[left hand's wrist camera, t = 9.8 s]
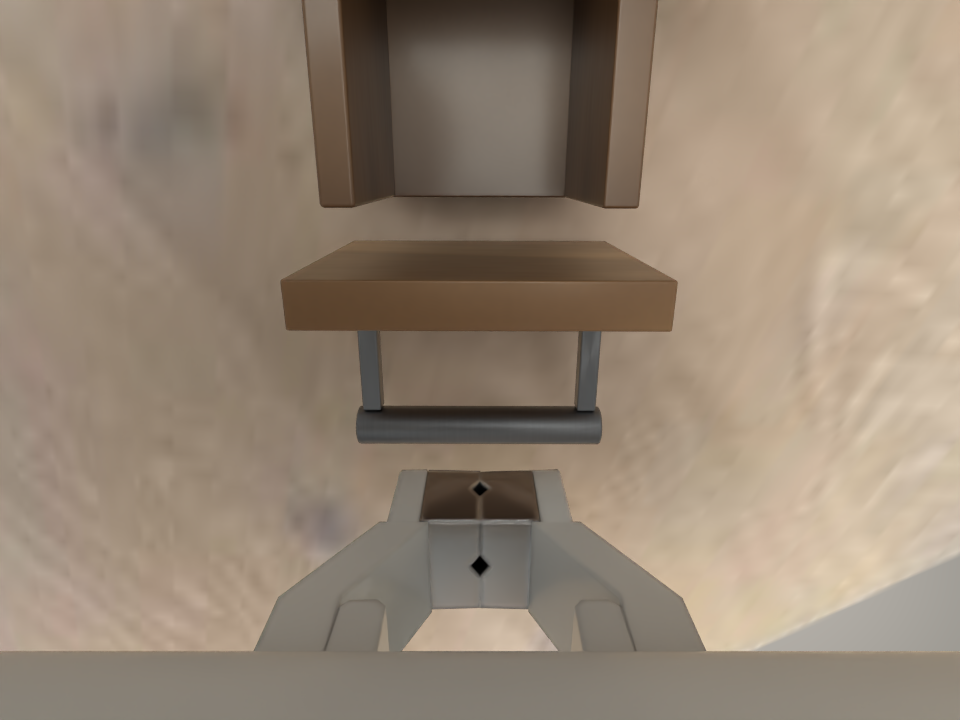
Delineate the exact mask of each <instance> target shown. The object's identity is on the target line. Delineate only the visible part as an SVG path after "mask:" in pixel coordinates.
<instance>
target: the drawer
mask: <svg viewBox="0 0 960 720" xmlns="http://www.w3.org/2000/svg"><path fill="white" fill-rule="evenodd" d="M657 7H658V0H302V10H303V21H304V32H305V43H306V55H307V66H308V77H309V88H310V99H311V110H312V121H313V132H314V144H315V155H316V166H317V177H318V188H319V199H320V205H321V206H322V207H324V208H353V207H356V206H360V205H364V204H368V203H371V202H375V201H379V200H382V199H386V198H390V197H567V198H571V199H574V200H578V201H581V202H585V203H588V204H592V205H595V206H599V207H602V208H638V206H639V198H640V188H641V177H642V166H643V156H644V145H645V134H646V124H647V113H648V102H649V92H650V81H651V70H652V60H653V49H654V39H655V28H656V17H657ZM677 284H678V282H677V281H676V280H674V279H672V278H670V277H669V276H667V275H665V274H663V273H661V272H660V271H658V270H656V269H654V268H652V267H651V266H649V265H647V264H645V263H643V262H641V261H640V260H638V259H636V258H634V257H632V256H631V255H629V254H627V253H625V252H623V251H621V250H620V249H618V248H616V247H614V246H612V245H611V244H609V243H607V242H605V241H353V242H351V243H349V244H348V245H346V246H344V247H342V248H340V249H338V250H336V251H334V252H333V253H331V254H329V255H327V256H325V257H323V258H321V259H320V260H318V261H316V262H314V263H312V264H310V265H308V266H306V267H305V268H303V269H301V270H299V271H297V272H295V273H293V274H291V275H290V276H288V277H286V278H284V279H282V280H281V290H282V299H283V307H284V316H285V324H286V330H304V331H357V332H358V345H359V359H360V372H361V386H362V399H363V406H361V407H360V408H359V410H358V413H357V419H356V434H357V439H358V442H359V443H381V444H598V443H600V440H601V436H602V418H601V412H600V410H599V408H598V407H596V393H597V381H598V368H599V355H600V342H601V331H658V332H670V331H672V325H673V317H674V309H675V301H676V292H677ZM380 331H579V337H578V353H577V369H576V384H575V400H574V404H575V406H383V404H384V394H383V377H382V360H381V343H380Z"/></svg>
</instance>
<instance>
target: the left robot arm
mask: <svg viewBox="0 0 960 720" xmlns="http://www.w3.org/2000/svg"><path fill="white" fill-rule="evenodd" d="M456 608H503V609H528V612H529V613H530V614H531V616H532V617H533V618H534V619H535V621H536V622H537V623H538V625H539V626H540V627H541V629H542V630H543V631H544V633H545V634H546V635H547V636H548V638H549V639H550V640H551V642H552V643H553V644H554V646H555V647H556V648H557V649H558V651H402V650H403V649H404V647H405V646H406V645H407V643H408V642H409V641H410V639H411V638H412V637H413V636H414V634H415V633H416V632H417V630H418V629H419V628H420V627H421V625H422V624H423V623H424V621H425V620H426V619H427V617H428V616H429V615H430V614H431V612H432V609H456ZM0 720H960V651H706V649H705V647H704V645H703V643H702V641H701V638H700V636H699V634H698V632H697V629H696V627H695V625H694V623H693V621H692V618H691V616H690V614H689V612H688V610H687V607H686V605H685V603H684V601H683V599H682V597H680V596H679V595H678V594H676V593H675V592H674V591H672V590H671V589H670V588H668V587H667V586H666V585H664V584H663V583H662V582H660V581H659V580H658V579H656V578H655V577H654V576H652V575H651V574H650V573H648V572H647V571H645V570H644V569H643V568H641V567H640V566H639V565H637V564H636V563H635V562H633V561H632V560H631V559H629V558H628V557H627V556H625V555H624V554H623V553H621V552H620V551H619V550H617V549H616V548H615V547H613V546H612V545H611V544H609V543H608V542H607V541H605V540H604V539H603V538H601V537H600V536H599V535H597V534H596V533H595V532H593V531H592V530H591V529H589V528H588V527H587V526H585V525H584V524H583V523H581V522H573V521H572V517H571V513H570V509H569V505H568V501H567V497H566V493H565V489H564V485H563V482H562V478H561V474H560V471H559V470H557V469H555V470H531V471H491V472H480V471H455V470H429V471H427V470H402V471H401V472H400V473H399V477H398V481H397V485H396V489H395V493H394V497H393V501H392V505H391V509H390V513H389V517H388V521H387V522H379V523H377V524H376V525H375V526H373V527H372V528H371V529H369V530H368V531H367V532H365V533H364V534H363V535H361V536H360V537H359V538H357V539H356V540H355V541H353V542H352V543H350V544H349V545H348V546H346V547H345V548H344V549H342V550H341V551H340V552H338V553H337V554H336V555H334V556H333V557H332V558H330V559H329V560H328V561H326V562H325V563H324V564H322V565H321V566H320V567H318V568H317V569H316V570H314V571H313V572H312V573H310V574H309V575H308V576H306V577H305V578H303V579H302V580H301V581H299V582H298V583H297V584H295V585H294V586H293V587H291V588H290V589H289V590H287V591H286V592H285V593H283V594H282V595H281V596H279V597H278V599H277V601H276V604H275V606H274V608H273V610H272V612H271V614H270V617H269V619H268V621H267V623H266V625H265V628H264V630H263V632H262V634H261V636H260V638H259V641H258V643H257V645H256V647H255V649H254V651H0Z"/></svg>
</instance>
